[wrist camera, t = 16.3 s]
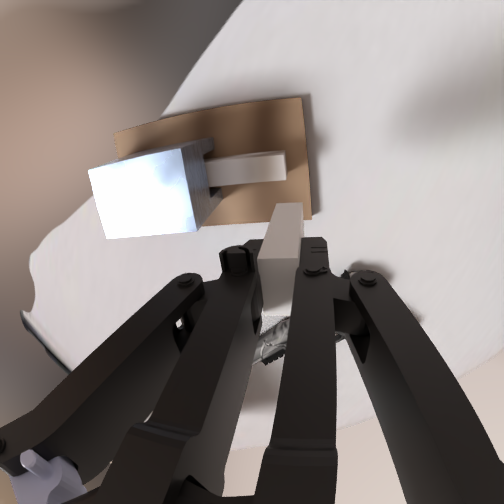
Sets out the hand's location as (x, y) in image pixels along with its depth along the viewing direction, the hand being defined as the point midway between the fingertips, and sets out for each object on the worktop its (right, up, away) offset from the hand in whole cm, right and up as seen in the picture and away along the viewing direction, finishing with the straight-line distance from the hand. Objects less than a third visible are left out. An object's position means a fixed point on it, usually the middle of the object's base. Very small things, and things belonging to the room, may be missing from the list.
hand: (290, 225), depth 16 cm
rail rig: (-7, +7, +12) cm, 15 cm away
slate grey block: (-10, +6, +11) cm, 16 cm away
